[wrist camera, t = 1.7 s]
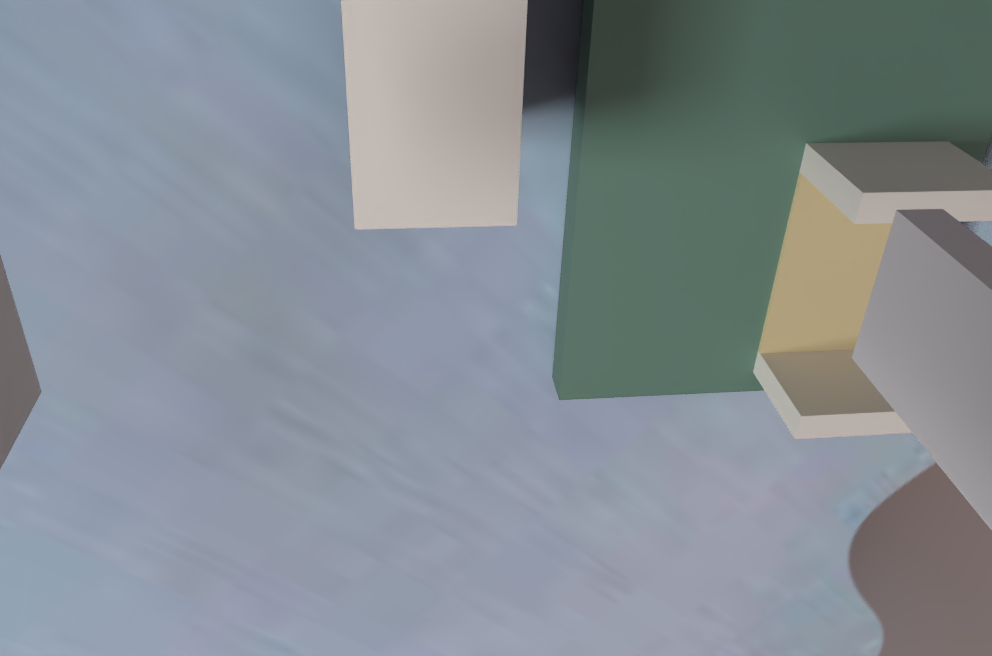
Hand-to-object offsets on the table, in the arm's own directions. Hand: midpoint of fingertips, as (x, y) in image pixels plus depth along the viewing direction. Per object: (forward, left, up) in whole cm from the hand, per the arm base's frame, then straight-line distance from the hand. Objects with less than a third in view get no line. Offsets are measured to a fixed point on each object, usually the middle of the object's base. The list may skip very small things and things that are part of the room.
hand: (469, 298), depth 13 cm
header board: (+5, +12, -16) cm, 21 cm away
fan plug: (0, 0, -16) cm, 16 cm away
